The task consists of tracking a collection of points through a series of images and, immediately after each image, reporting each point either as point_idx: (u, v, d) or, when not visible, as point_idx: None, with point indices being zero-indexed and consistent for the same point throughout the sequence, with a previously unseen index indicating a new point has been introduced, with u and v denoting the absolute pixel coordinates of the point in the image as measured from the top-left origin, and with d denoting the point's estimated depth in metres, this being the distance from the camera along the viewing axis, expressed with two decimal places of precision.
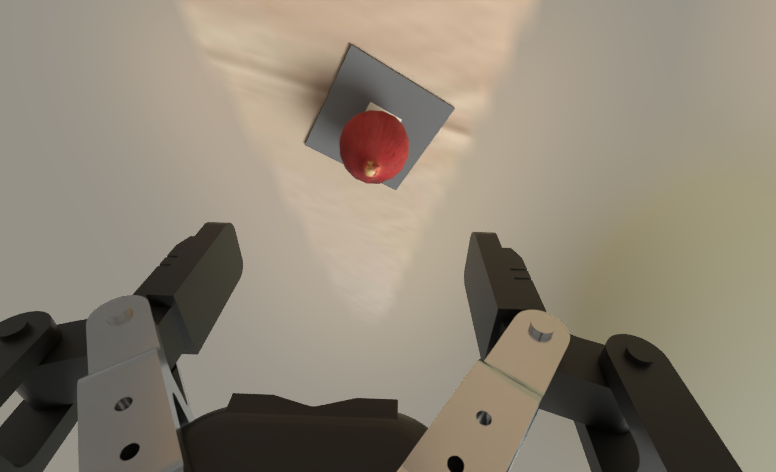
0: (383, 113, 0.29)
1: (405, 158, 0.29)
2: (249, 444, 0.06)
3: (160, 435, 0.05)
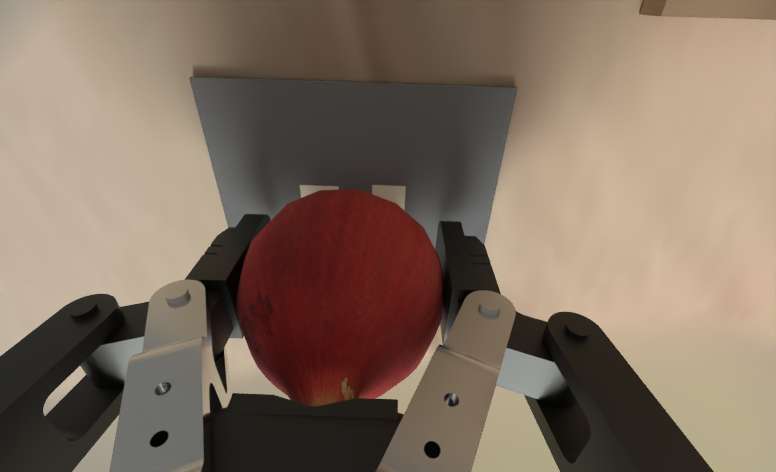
0: (440, 266, 0.11)
1: None
2: (249, 444, 0.06)
3: (189, 428, 0.06)
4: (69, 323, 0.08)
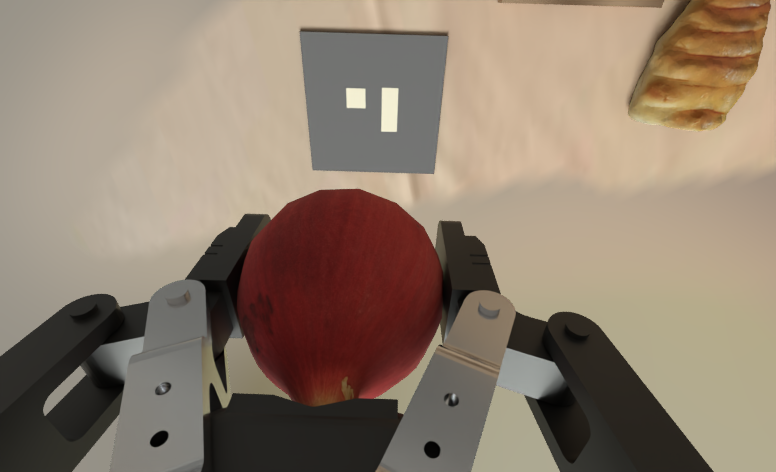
0: (440, 266, 0.11)
1: None
2: (249, 444, 0.06)
3: (189, 428, 0.06)
4: (69, 323, 0.08)
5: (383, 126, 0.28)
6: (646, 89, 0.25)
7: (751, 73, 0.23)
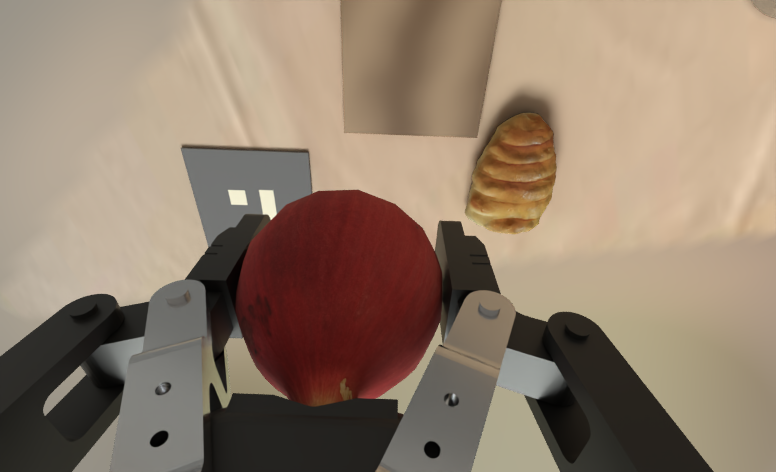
0: (439, 267, 0.11)
1: None
2: (249, 444, 0.06)
3: (189, 428, 0.06)
4: (69, 323, 0.08)
5: None
6: (470, 199, 0.30)
7: (545, 192, 0.28)
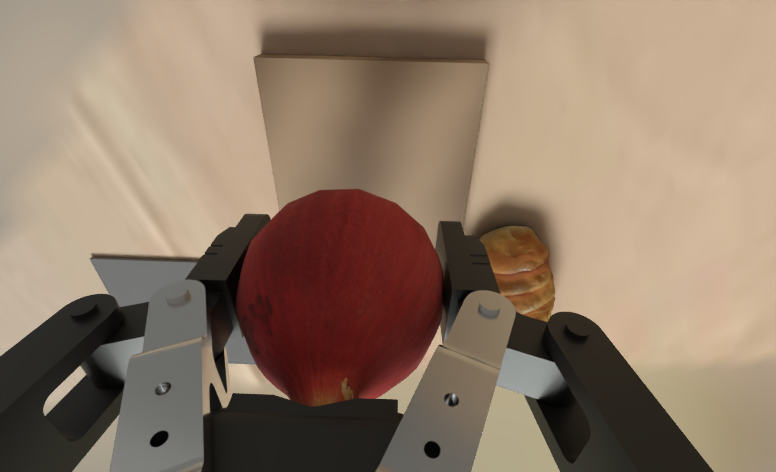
0: (440, 266, 0.11)
1: None
2: (249, 444, 0.06)
3: (189, 428, 0.06)
4: (69, 323, 0.08)
5: None
6: None
7: None
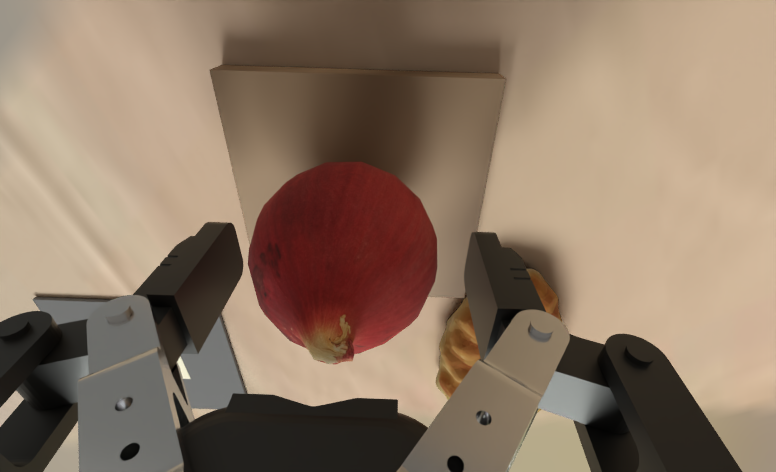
0: None
1: None
2: (249, 444, 0.06)
3: (161, 436, 0.05)
4: None
5: None
6: (439, 376, 0.20)
7: None
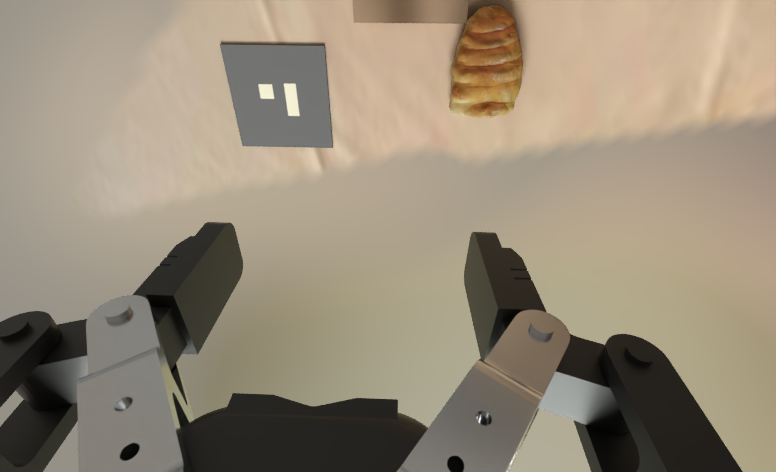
0: None
1: None
2: (249, 444, 0.06)
3: (161, 436, 0.05)
4: None
5: (289, 112, 0.38)
6: (451, 91, 0.35)
7: (513, 74, 0.33)
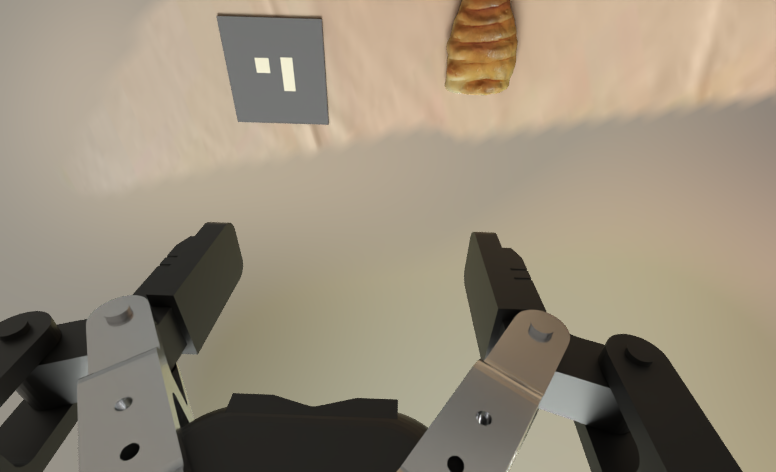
0: None
1: None
2: (249, 444, 0.06)
3: (161, 436, 0.05)
4: None
5: (285, 87, 0.38)
6: (447, 69, 0.35)
7: (507, 51, 0.33)
